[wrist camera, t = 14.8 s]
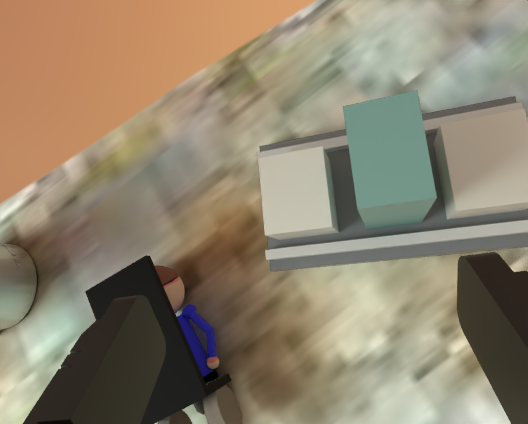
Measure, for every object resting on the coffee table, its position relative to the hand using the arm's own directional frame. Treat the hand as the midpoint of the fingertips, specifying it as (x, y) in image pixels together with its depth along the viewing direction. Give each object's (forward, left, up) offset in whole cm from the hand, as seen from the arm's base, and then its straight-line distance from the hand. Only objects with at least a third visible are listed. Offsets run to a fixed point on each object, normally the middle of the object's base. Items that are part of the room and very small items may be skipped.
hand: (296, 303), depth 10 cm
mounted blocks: (+7, +3, -21) cm, 23 cm away
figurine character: (-14, +8, -23) cm, 28 cm away
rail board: (+7, +3, -23) cm, 24 cm away
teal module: (+7, +3, -21) cm, 23 cm away
